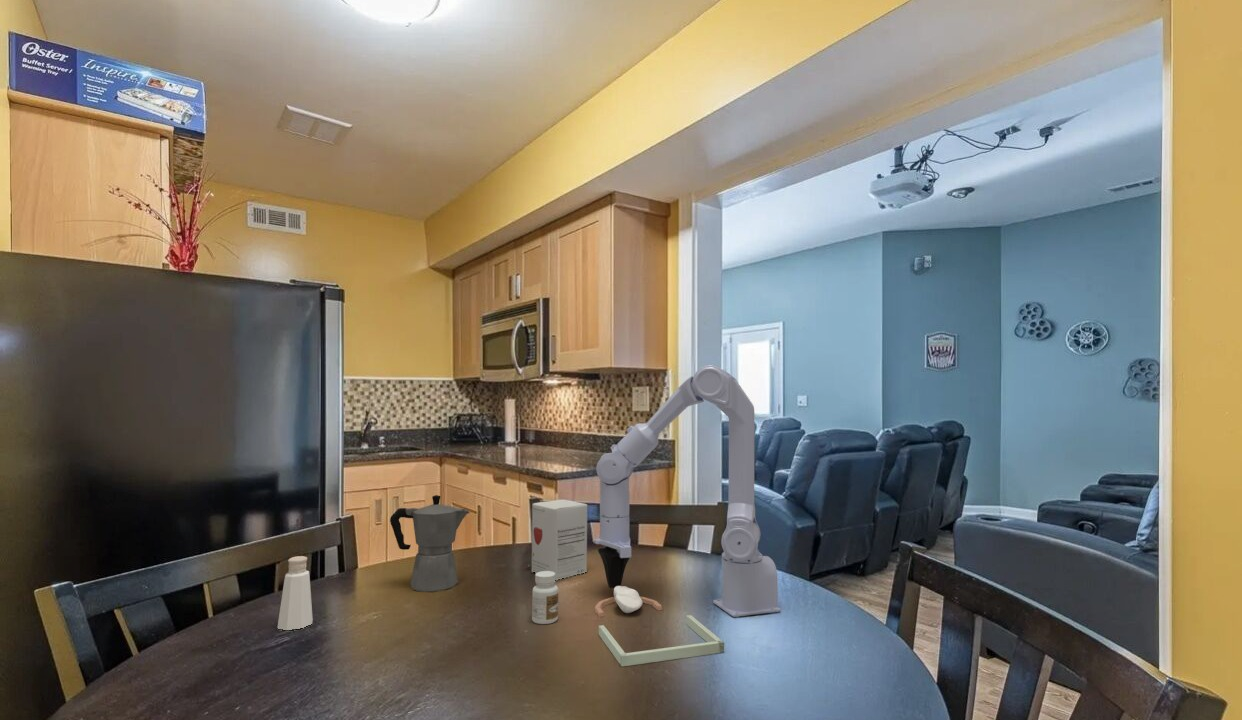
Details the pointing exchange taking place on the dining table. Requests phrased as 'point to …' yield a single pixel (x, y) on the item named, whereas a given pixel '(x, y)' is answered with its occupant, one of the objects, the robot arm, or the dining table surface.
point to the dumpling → (627, 599)
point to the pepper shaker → (296, 596)
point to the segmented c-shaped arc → (612, 599)
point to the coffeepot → (431, 544)
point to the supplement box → (559, 537)
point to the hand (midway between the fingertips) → (614, 587)
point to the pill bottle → (545, 598)
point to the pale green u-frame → (670, 653)
